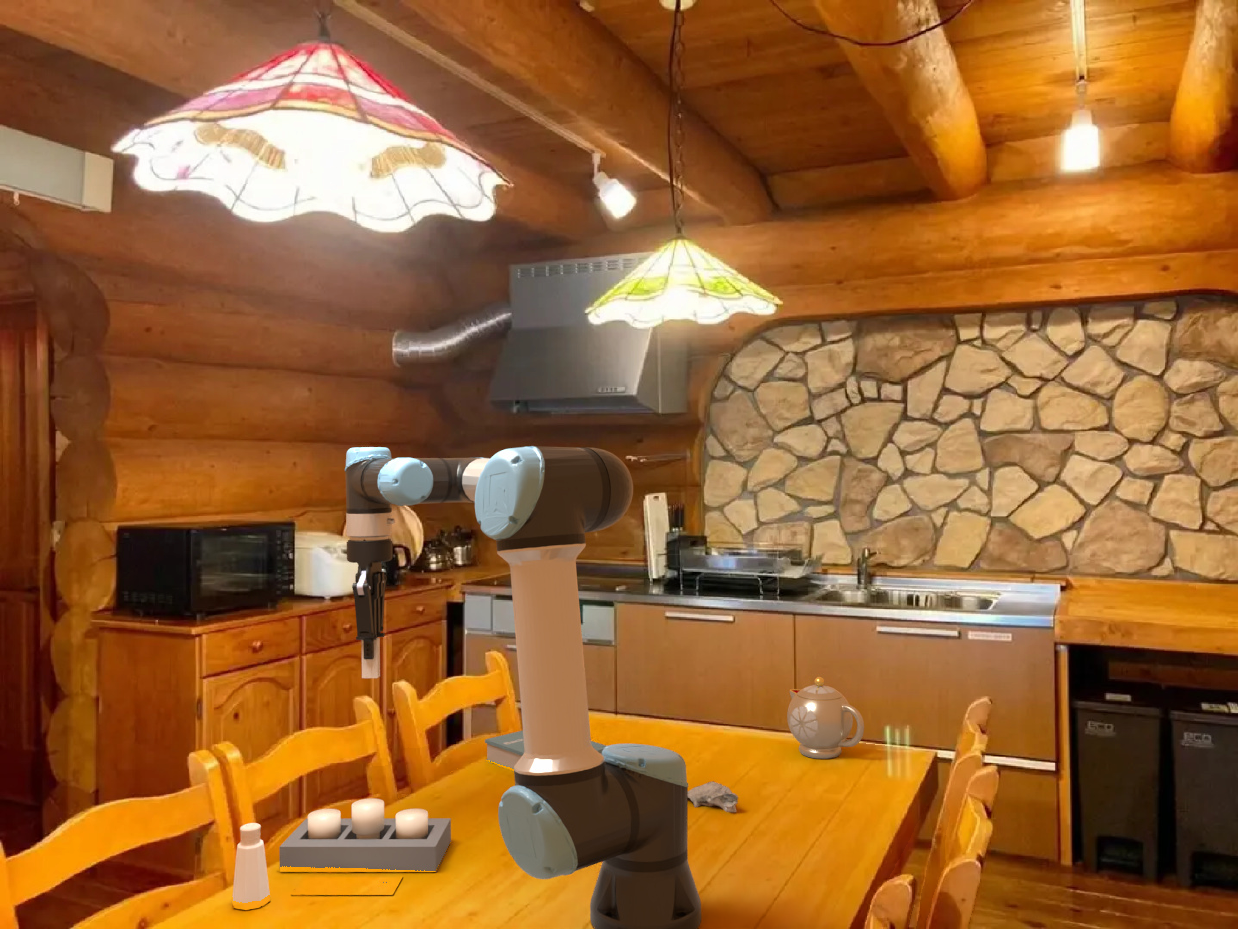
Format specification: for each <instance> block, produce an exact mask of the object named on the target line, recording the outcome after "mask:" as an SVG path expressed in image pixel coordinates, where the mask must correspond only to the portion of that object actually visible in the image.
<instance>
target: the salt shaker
mask: <svg viewBox="0 0 1238 929" xmlns="http://www.w3.org/2000/svg"><path fill="white" fill-rule="evenodd" d="M261 828H262V826H261V824H259V823H257V822H248V823H246V824H242V825H241V826H240V827H239V832H240V842H239V843H238V844H237V846H236V853H235V855H236V856H235V865H234V866H235V867H234V876H233V888H232V897H233V901H236V902H239V903H240V902H242V903H248V902H252V901H261V900H262V899H264V898H265V897H267V896H268V895H270V885H269V884H270V883H269V877H268V868H267V867H268V866H267V860H266V859H267V858H266V850H265V844H264V840H263V839H261ZM270 896H271V895H270Z"/></svg>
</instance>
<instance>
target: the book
mask: <svg viewBox="0 0 1238 929" xmlns="http://www.w3.org/2000/svg"><path fill="white" fill-rule="evenodd" d="M484 743H485V744H486V750H487V751H486V755H487V756H486V758H487V759H486V760H490V762H491V761H492V762H495V763H497V764H500V765H503V766H506V767H510V768H512V769H514V766H515V765H516V763H517V762H518V761H519V759H520V758H521V757H522V756H523V754H524V752H525V750H524V737H523V730H519V731H515V732H511V733H507V734H502V735H498V736H494V737H489V738H486V739H484ZM591 745H592V746H593V748H594V749H595V750H597V751H598V752H599V753H600V754H601V755H602V751H603V749H604V748H605V747H606V746H607V745H605V744H602V743H600V742H599V743H598V742H597V741H596V742H595V741H592V740H591Z"/></svg>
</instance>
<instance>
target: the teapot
mask: <svg viewBox="0 0 1238 929" xmlns="http://www.w3.org/2000/svg"><path fill="white" fill-rule="evenodd" d="M789 694H790V698H791V700H790V702H789V705H788V709H787V714H786V715H787V717H786V718H787V724H788V728H789V730H790V732H791V734H792V736H793V738H794V739H795V740H796V741H797V742H798V743H800V744H799V745H798V746H799V747H798V750H799V752H800V754H801V755H803V756H804V757H807V758H811V759H818V760H828V759H834V758H837V757H839V756H840V755H841V753H842V748H853V747H854V746H856V745H858V744H859V743H860V742H861V740H862V738H863V736H864V731H865V723H864V718H863V716H862V714H861V712H860V711H859V710H858V709H857V708H855V707H854V706H853V705H851V704H850V703H849V701H848V700H847V698H846V697H845V696H844V695H843V694H842V693H841V692H840V691H838V690H837V689H836V688H834V687H832V686H828V685H825V679H824V678H823V677H821V676H817V677H816V678H815V679H814V684H812V685H808V686H806V687H803V688H802V689H796V688H792V689H791V688H790V689H789ZM853 718H854V719H855V721H856V732H855V735H854V736H853V737H852V738H850V739H847V738H848V737H849V735H850V733H851V731H852V728H853V722H854V721H853V720H854V719H853Z"/></svg>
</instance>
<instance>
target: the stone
mask: <svg viewBox="0 0 1238 929" xmlns="http://www.w3.org/2000/svg"><path fill="white" fill-rule="evenodd" d="M688 799H689V800H690V801H691V802H692V803H693V804H692V805H693V806H694V808H699V807H701V806H704V807H713V806H715V807H719V808H721V809H722V810H724V812H726V813H737V808H736V805H737V804H738V803H739V801H738V800H739V796H738V795H737V793H734V792H732V790H731V789H730V787H728V786H727V785H723V784H722V783H719V782H715V781H709V782H707V783H704V784H702V785H698V786H695V787H693V788H691V789H690V790H688Z"/></svg>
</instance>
